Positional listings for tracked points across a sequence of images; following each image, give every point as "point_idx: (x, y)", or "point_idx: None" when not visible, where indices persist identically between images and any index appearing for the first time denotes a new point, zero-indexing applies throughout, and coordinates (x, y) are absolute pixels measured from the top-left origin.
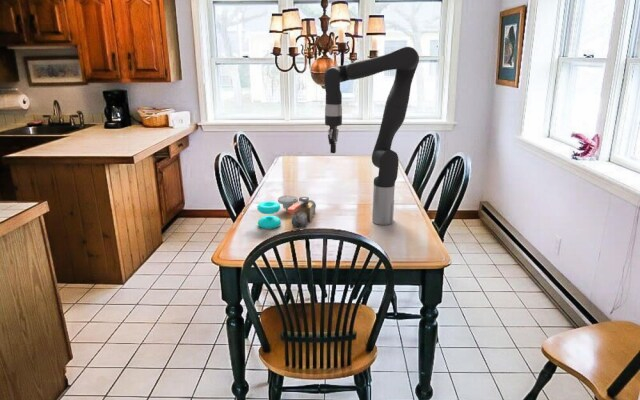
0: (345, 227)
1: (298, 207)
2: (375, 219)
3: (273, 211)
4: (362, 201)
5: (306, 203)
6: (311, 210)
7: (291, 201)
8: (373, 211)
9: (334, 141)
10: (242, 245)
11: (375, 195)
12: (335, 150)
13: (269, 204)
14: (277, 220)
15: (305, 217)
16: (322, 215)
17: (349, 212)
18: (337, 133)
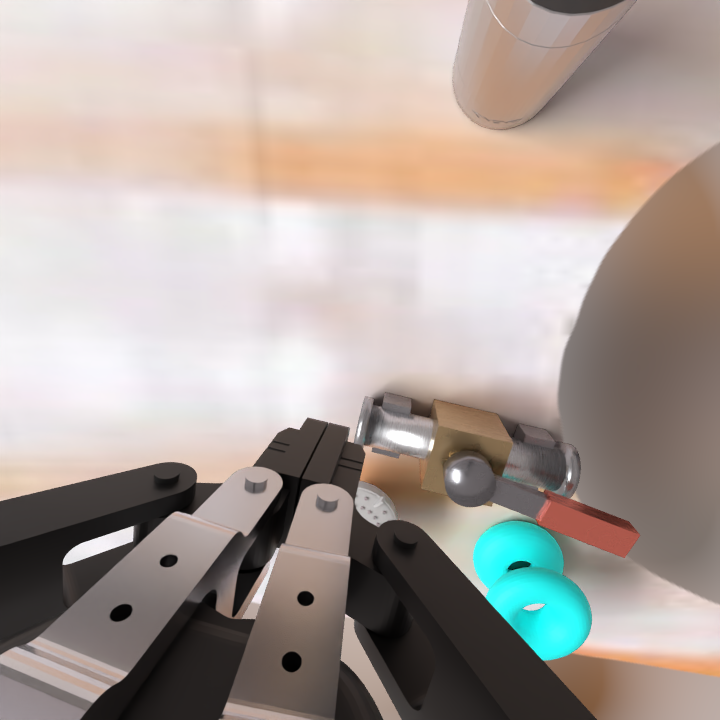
0: (566, 267)
1: (573, 504)
2: (543, 106)
3: (584, 595)
4: (217, 169)
5: (489, 464)
6: (476, 425)
7: (393, 512)
8: (535, 104)
9: (450, 586)
10: (694, 625)
11: (597, 41)
12: (330, 435)
13: (517, 616)
14: (539, 543)
15: (526, 444)
16: (412, 363)
17: (374, 241)
18: (110, 648)
